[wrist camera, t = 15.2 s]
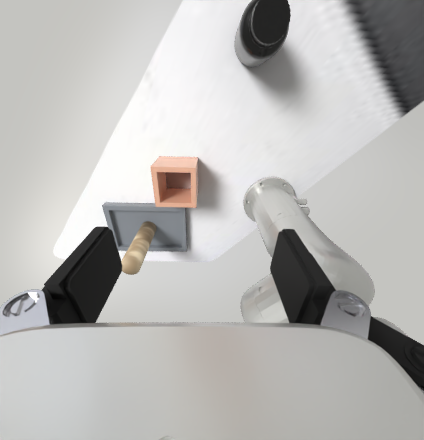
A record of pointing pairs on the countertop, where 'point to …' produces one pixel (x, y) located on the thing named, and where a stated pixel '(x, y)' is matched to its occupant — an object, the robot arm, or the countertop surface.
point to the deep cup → (174, 195)
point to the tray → (141, 212)
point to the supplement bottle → (262, 31)
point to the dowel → (138, 248)
